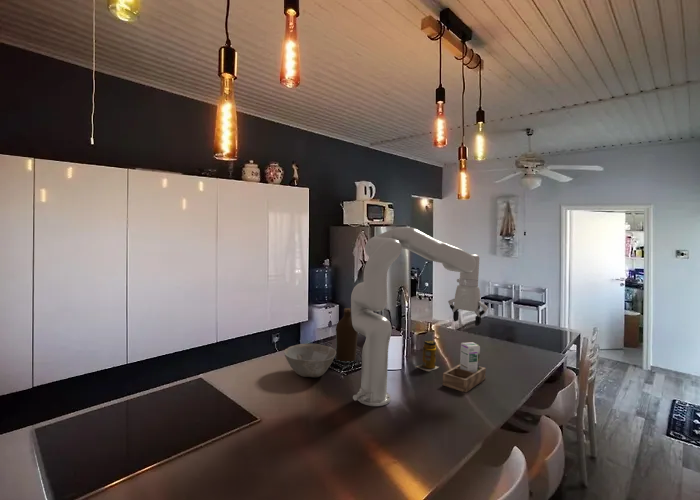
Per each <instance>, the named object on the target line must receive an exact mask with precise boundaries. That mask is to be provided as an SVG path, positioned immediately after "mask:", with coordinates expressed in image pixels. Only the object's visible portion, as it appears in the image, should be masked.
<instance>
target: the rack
mask: <svg viewBox="0 0 700 500" xmlns="http://www.w3.org/2000/svg"><path fill="white" fill-rule="evenodd" d="M486 373H487V370H486V367H483V366H480V365H479V371H477V372H475V373H473V372H470V371H466V370H463V369H460V363H459V364H457V365H455V366H453V367H452V368H450V369H448V370H447V371H444V372H443V373H442V386H445V387H447V388H450V389H452V390H457V391H459V392H462V393H467V392H469V391H470V390H472V389H474V388H475V387H476V386H478V385H480V384H481V383H482V382H484V381H485V380H486Z"/></svg>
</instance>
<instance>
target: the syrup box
mask: <svg viewBox="0 0 700 500" xmlns="http://www.w3.org/2000/svg"><path fill="white" fill-rule="evenodd" d="M480 353H481V346H480V345H479V344H477V342H476V343H475V342H473V341H472V342H461V343H460V358H459V359H460V361H459V364H460V369H463V370H466V371H470V372H473V373H475V372H477V371H479V366H480V356H481V355H480Z"/></svg>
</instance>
